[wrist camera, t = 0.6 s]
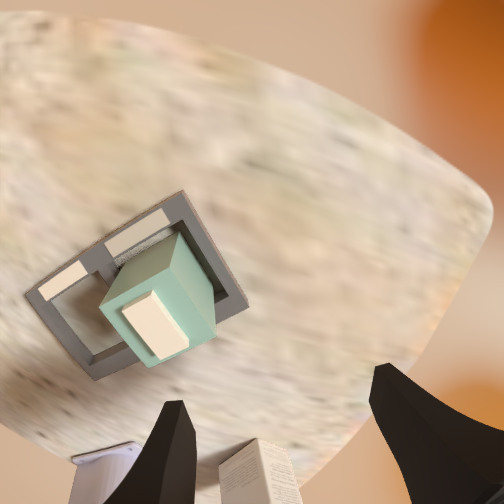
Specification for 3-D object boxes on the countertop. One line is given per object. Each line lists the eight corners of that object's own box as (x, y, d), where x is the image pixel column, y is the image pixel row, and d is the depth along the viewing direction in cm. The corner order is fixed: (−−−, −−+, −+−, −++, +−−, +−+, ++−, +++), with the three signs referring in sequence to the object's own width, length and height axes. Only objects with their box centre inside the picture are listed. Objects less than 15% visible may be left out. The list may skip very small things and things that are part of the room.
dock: (98, 371, 21) (94, 382, 20) (32, 287, 18) (24, 295, 17) (247, 298, 21) (249, 308, 20) (183, 189, 18) (181, 192, 17)
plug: (160, 311, 20) (146, 376, 14) (126, 261, 19) (94, 313, 13) (212, 283, 20) (217, 343, 14) (179, 230, 19) (167, 272, 13)
